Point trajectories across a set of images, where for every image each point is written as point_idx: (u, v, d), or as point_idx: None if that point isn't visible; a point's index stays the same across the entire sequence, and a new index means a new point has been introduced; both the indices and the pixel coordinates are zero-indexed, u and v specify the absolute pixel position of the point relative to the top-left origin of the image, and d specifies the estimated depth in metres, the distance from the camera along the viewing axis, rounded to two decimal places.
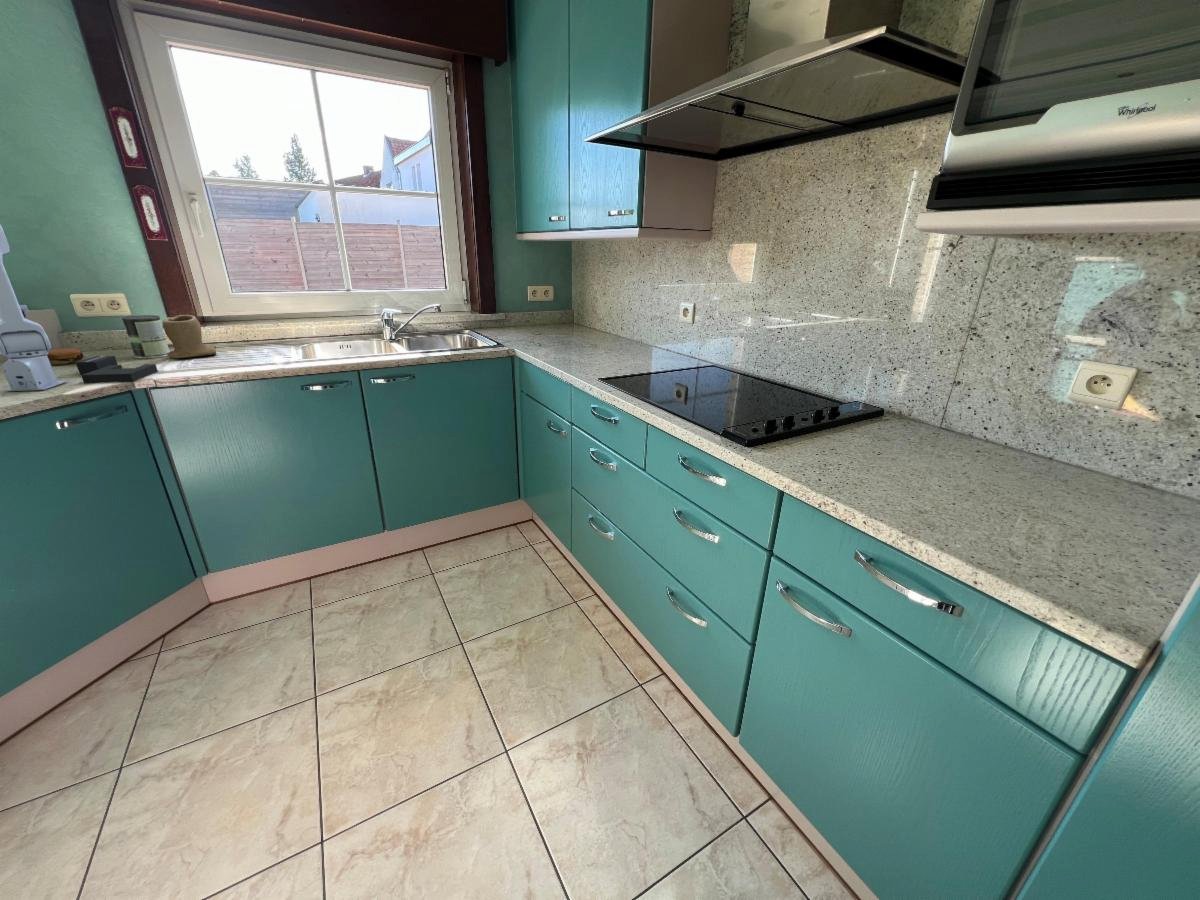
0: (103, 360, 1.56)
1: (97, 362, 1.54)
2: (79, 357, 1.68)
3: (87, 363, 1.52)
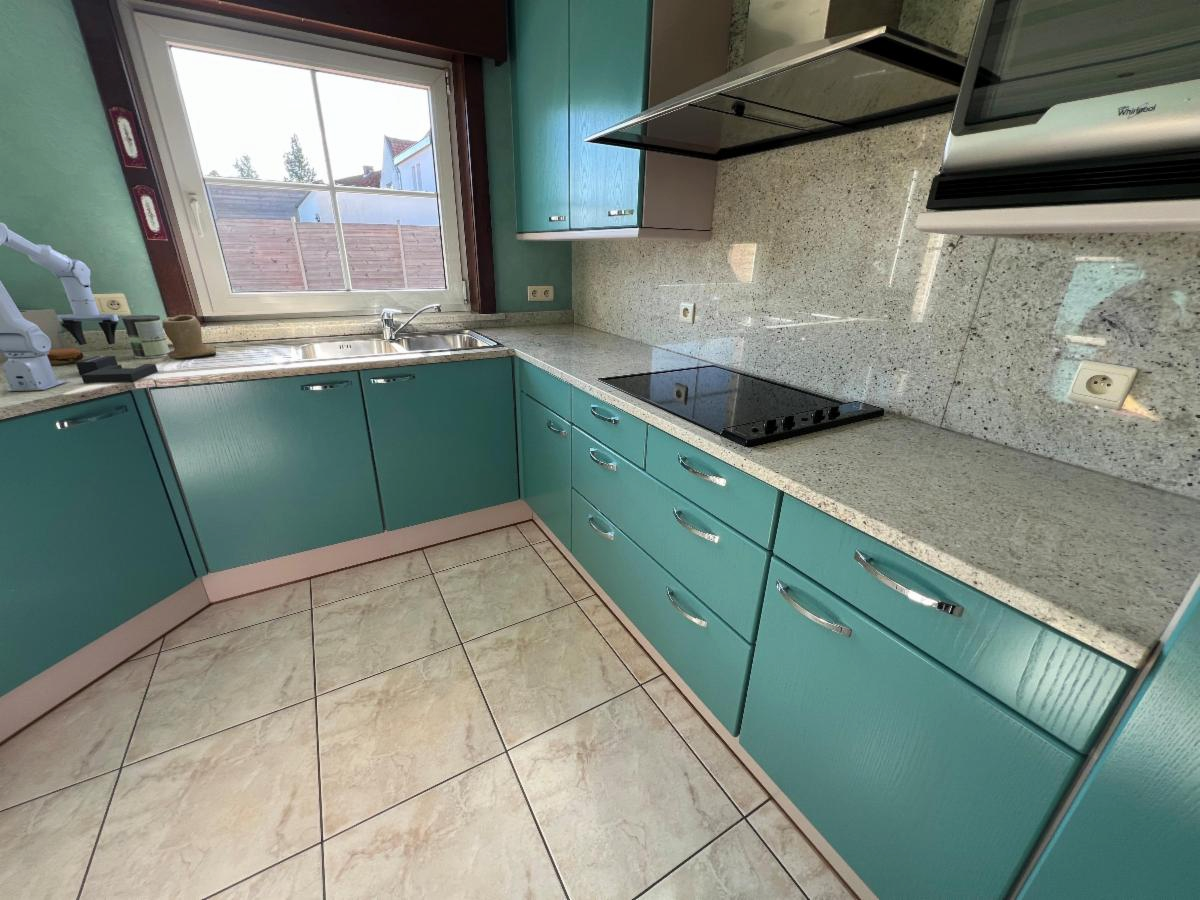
0: (103, 360, 1.56)
1: (97, 362, 1.54)
2: (79, 357, 1.68)
3: (87, 363, 1.52)
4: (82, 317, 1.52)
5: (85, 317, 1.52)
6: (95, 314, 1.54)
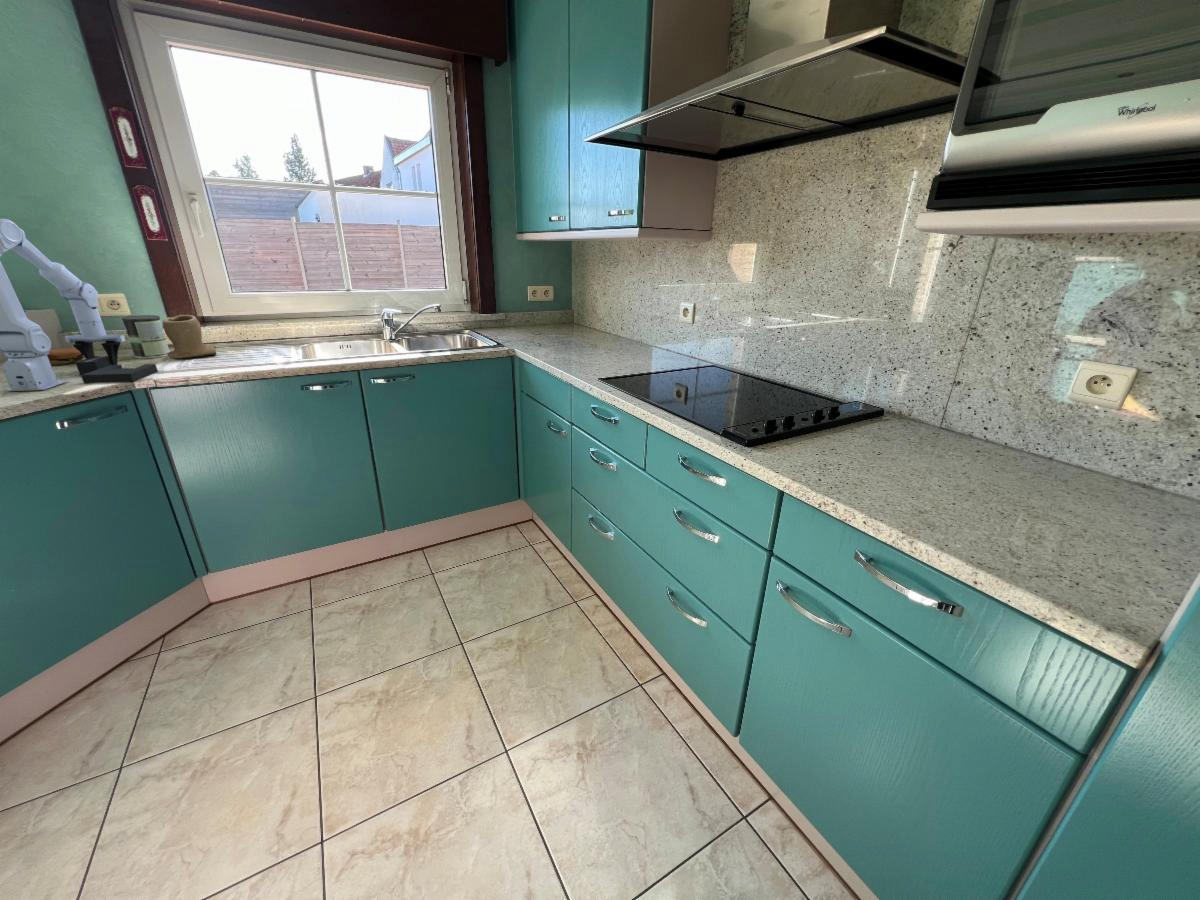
0: (103, 360, 1.56)
1: (97, 362, 1.54)
2: (79, 357, 1.68)
3: (87, 363, 1.52)
4: (90, 338, 1.54)
5: (93, 338, 1.55)
6: (102, 335, 1.57)
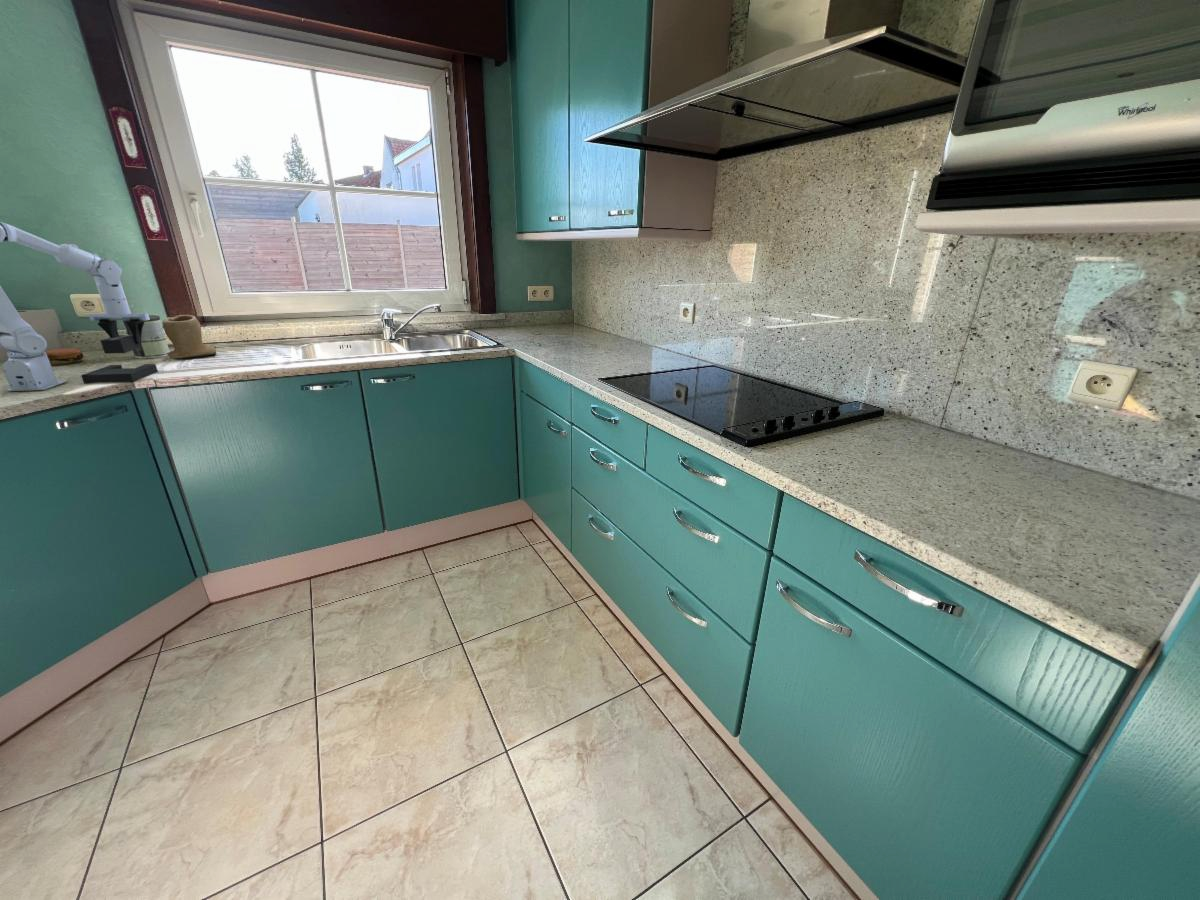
0: (128, 339, 1.54)
1: (122, 340, 1.51)
2: (79, 357, 1.68)
3: (112, 342, 1.50)
4: (114, 316, 1.52)
5: (117, 316, 1.52)
6: (127, 313, 1.54)
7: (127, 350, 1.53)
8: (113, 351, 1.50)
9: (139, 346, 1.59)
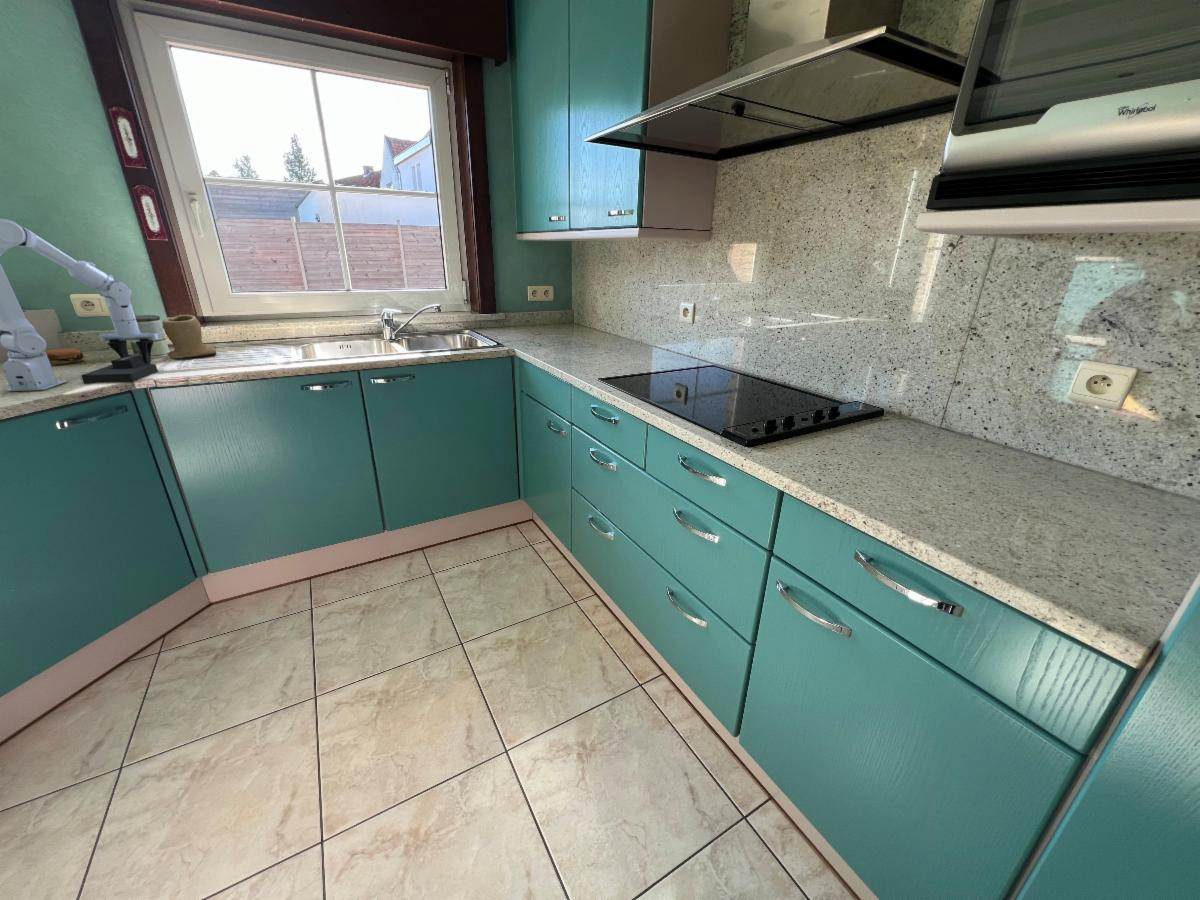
0: (137, 358, 1.56)
1: (132, 360, 1.53)
2: (79, 357, 1.68)
3: (122, 362, 1.52)
4: (124, 336, 1.54)
5: (127, 336, 1.54)
6: (137, 333, 1.56)
7: None
8: None
9: None
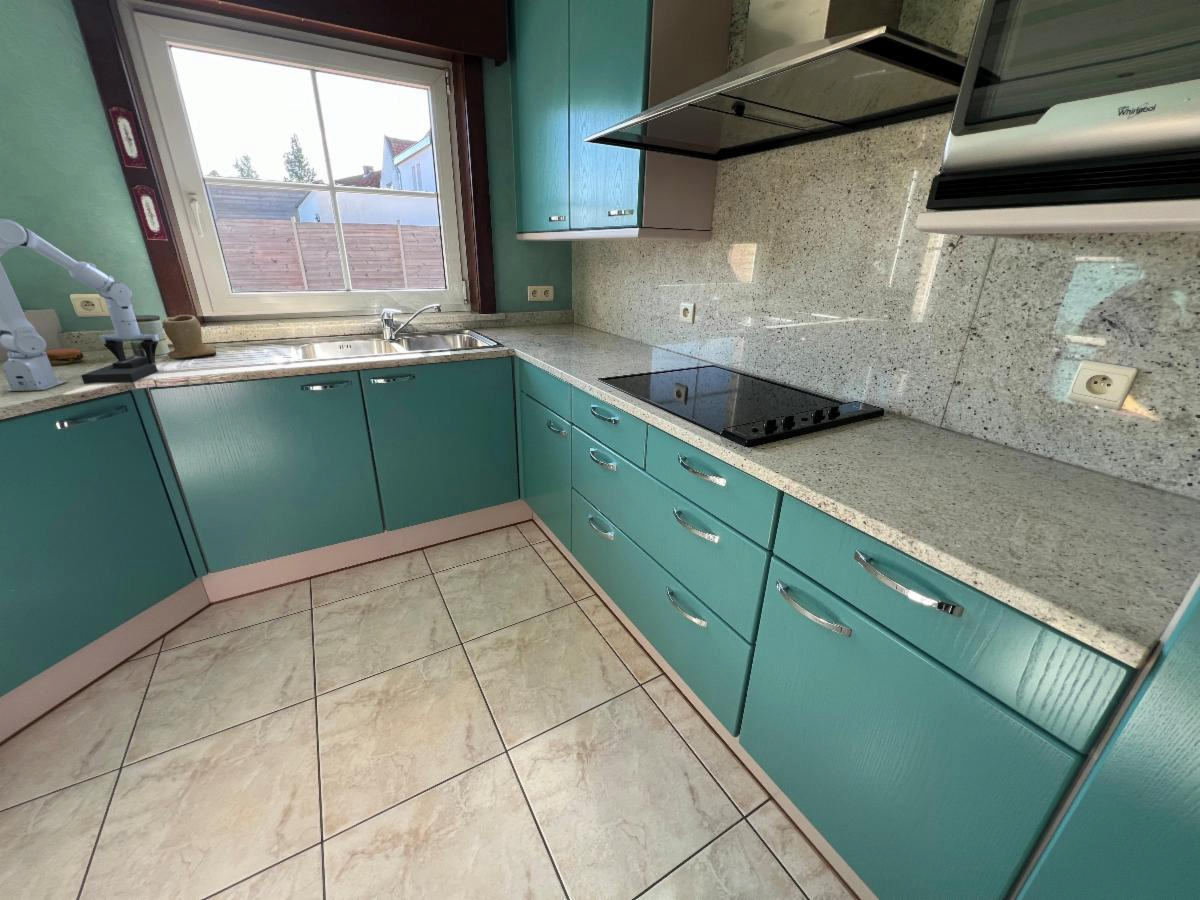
0: (138, 361, 1.56)
1: (133, 363, 1.54)
2: (79, 357, 1.68)
3: (123, 365, 1.52)
4: (125, 337, 1.54)
5: (127, 337, 1.54)
6: (137, 334, 1.56)
7: None
8: None
9: None
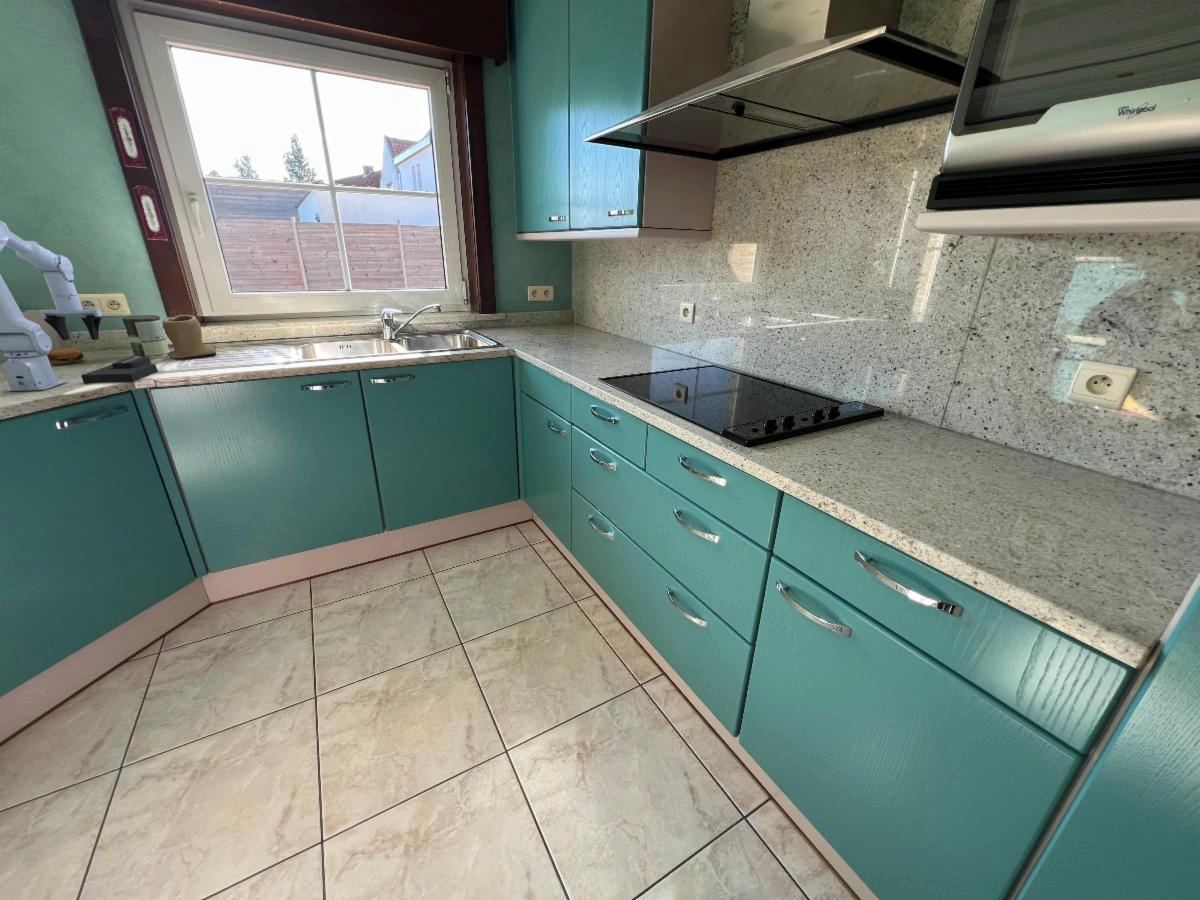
0: (138, 361, 1.56)
1: (133, 363, 1.54)
2: (79, 357, 1.68)
3: (123, 365, 1.52)
4: (65, 312, 1.52)
5: (68, 312, 1.52)
6: (78, 309, 1.54)
7: None
8: None
9: None
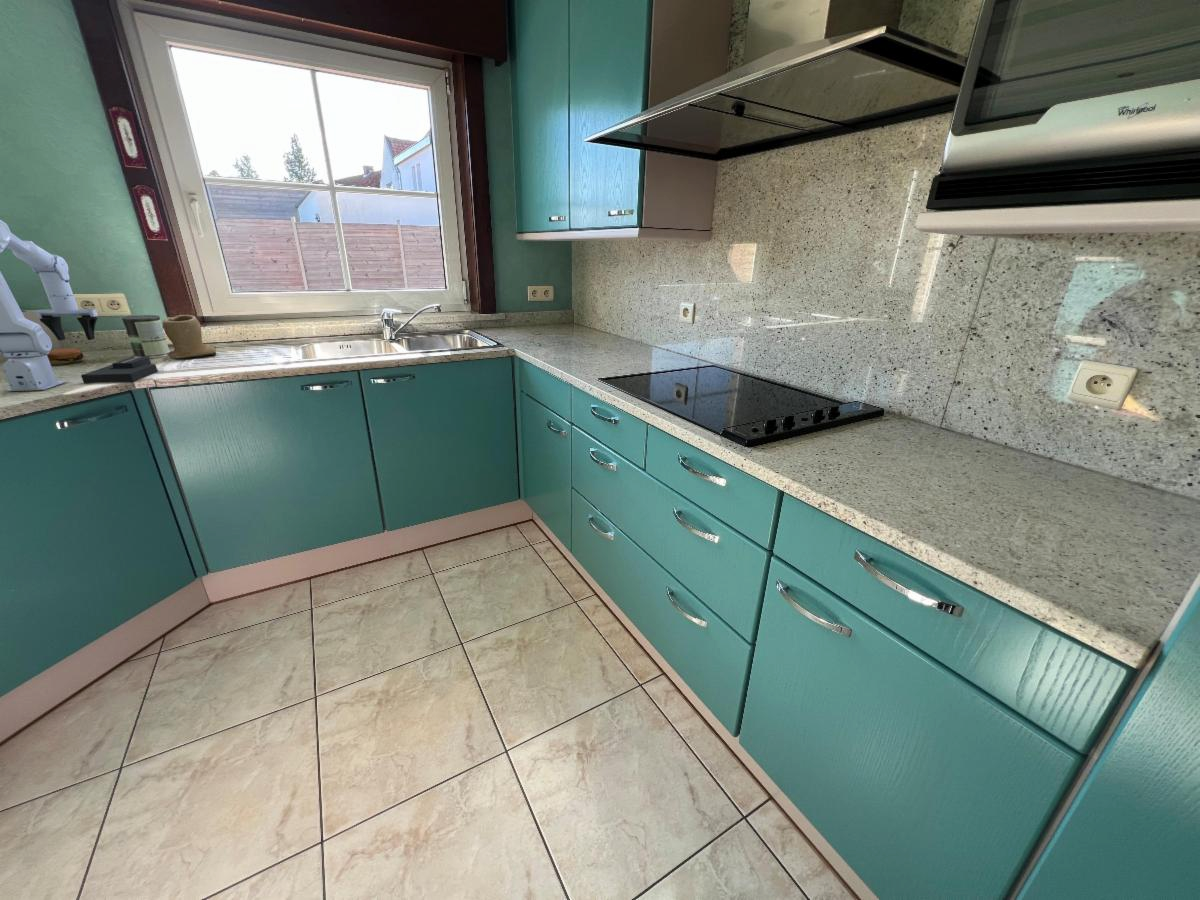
0: (138, 361, 1.56)
1: (133, 363, 1.54)
2: (79, 357, 1.68)
3: (123, 365, 1.52)
4: (60, 312, 1.52)
5: (64, 312, 1.52)
6: (74, 309, 1.54)
7: None
8: None
9: None
